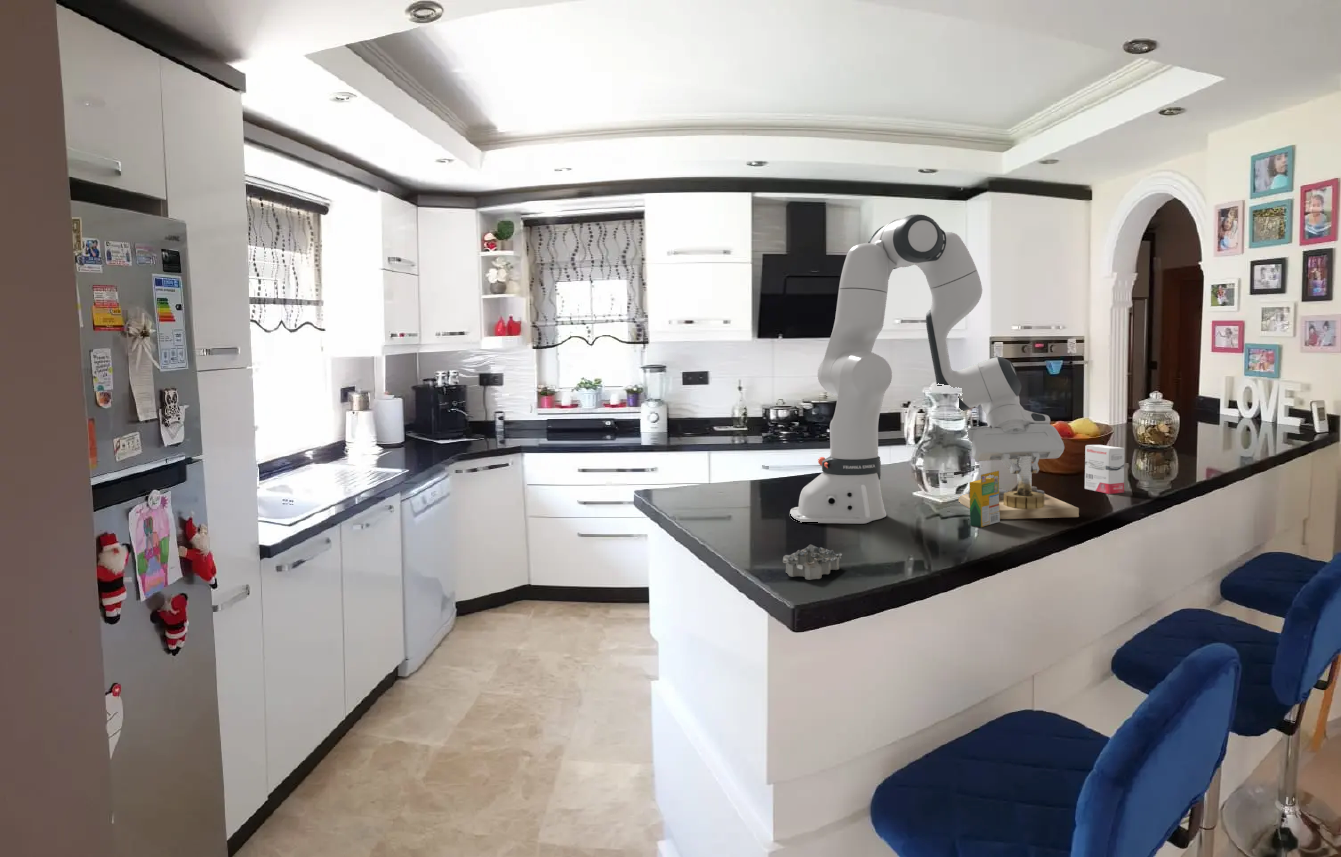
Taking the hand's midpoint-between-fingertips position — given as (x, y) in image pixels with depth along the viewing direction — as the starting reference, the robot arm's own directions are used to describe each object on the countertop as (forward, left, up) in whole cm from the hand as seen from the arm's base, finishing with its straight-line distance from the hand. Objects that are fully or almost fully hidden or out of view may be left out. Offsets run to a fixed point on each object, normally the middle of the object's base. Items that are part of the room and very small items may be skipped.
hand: (1025, 472), depth 172 cm
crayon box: (-12, -8, -10) cm, 18 cm away
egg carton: (-54, -41, -10) cm, 68 cm away
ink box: (+30, +25, -10) cm, 40 cm away
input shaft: (0, +1, -5) cm, 5 cm away
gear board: (0, +6, -10) cm, 11 cm away
